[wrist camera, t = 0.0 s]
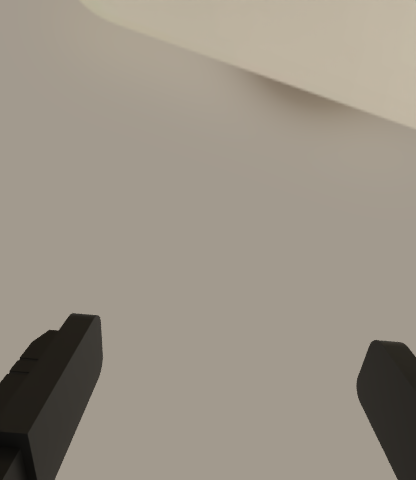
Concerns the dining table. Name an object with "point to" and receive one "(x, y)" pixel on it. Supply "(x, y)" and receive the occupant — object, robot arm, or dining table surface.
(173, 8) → the dining table surface
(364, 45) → the dining table surface
